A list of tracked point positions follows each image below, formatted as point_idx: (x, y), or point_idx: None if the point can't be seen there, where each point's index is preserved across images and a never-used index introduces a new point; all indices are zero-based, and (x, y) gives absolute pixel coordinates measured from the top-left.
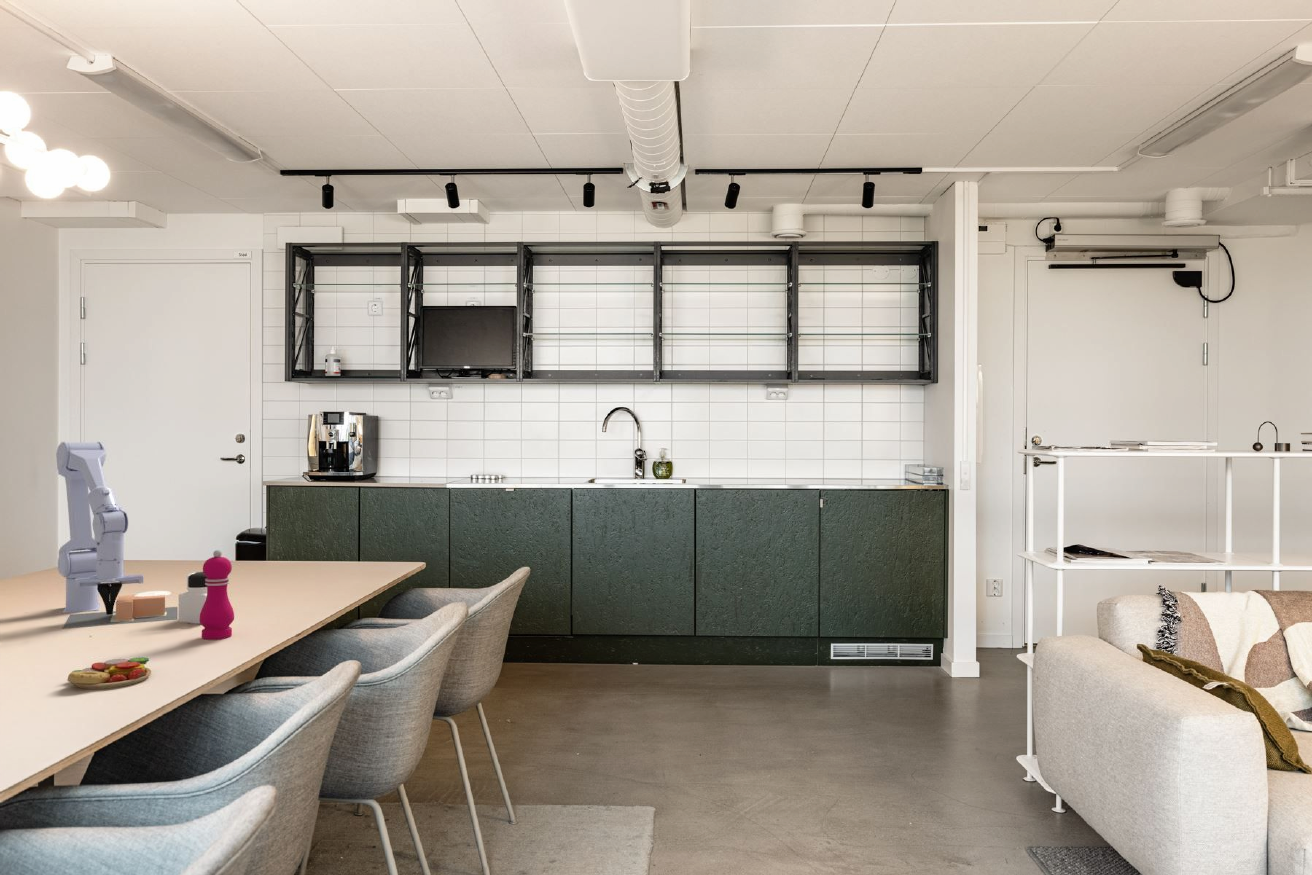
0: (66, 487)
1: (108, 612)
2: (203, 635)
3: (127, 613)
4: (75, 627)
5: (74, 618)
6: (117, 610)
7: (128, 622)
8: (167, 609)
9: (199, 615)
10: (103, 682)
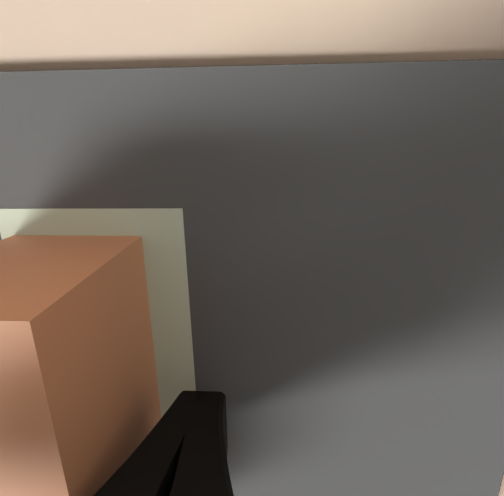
0: None
1: (204, 399)
2: None
3: (6, 254)
4: (482, 60)
5: (453, 480)
6: (77, 270)
7: (15, 118)
8: None
9: None
10: None
